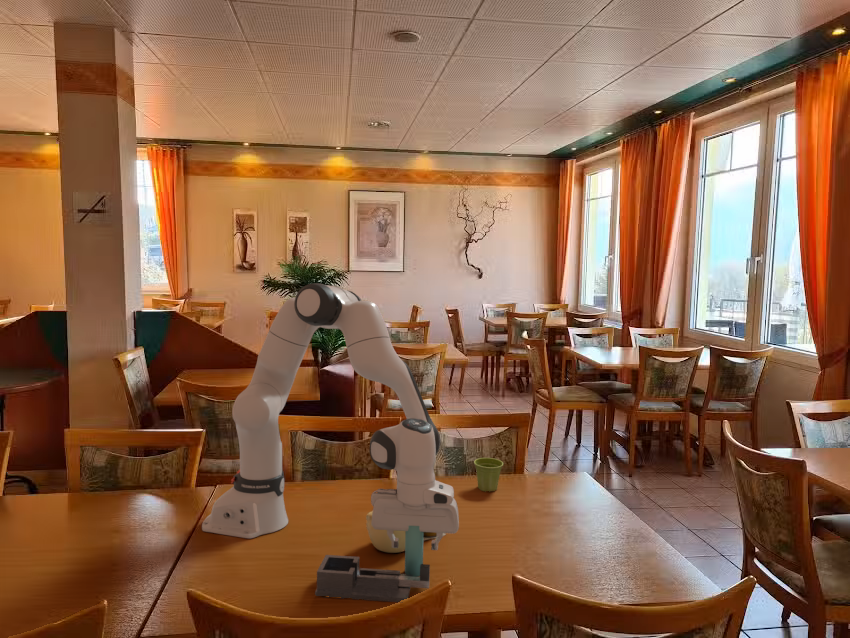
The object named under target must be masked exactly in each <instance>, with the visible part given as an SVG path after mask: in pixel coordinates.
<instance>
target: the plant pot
mask: <svg viewBox="0 0 850 638" xmlns="http://www.w3.org/2000/svg"><path fill="white" fill-rule="evenodd" d="M473 464H474V466H475V470H476V481H477V488H478V489H479V490H480V491H481V492H486V491H489V492H495V490H496V491H497V490H498V486H499V480H500V474H501V471H502V467H504V462H503V461H502V460H500V459H497V458H492V457H478V458H477V459H475V460H474V461H473ZM489 492H488V493H489Z"/></svg>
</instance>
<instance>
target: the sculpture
mask: <svg viewBox="0 0 850 638" xmlns="http://www.w3.org/2000/svg"><path fill="white" fill-rule="evenodd" d="M372 513H373V510H372V511H369V512H368V513H367V514H366V517H365V518H366V519H365V520H366V523H365V525H366V530H367V532H368V536H369V539H370V541H371V543H372V545H373V546H374V548H375V549H376V550H378V551H381V552H384V553H390V554H394V553H395V554H396V553H397V554H398V553H401V552H405V531H397V530H394V532H393V534H394V536H395V538H399V546H398V548H392V541H391V540H390V538H389V536H388V535H387V530H379V529H374V528H373V526H372V524H371V523H372Z"/></svg>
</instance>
